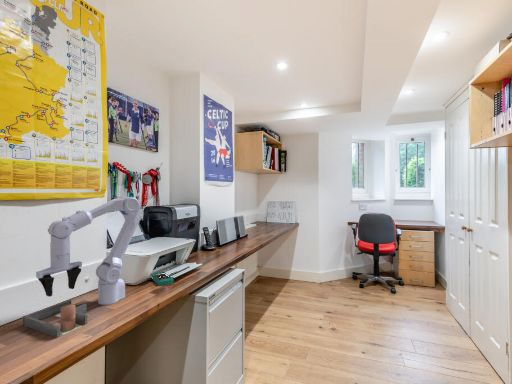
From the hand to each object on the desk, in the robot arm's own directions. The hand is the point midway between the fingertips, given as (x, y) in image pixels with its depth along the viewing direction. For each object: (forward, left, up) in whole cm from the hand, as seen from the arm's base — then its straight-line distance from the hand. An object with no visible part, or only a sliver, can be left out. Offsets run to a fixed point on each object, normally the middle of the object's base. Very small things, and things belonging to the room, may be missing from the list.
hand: (60, 292), depth 99 cm
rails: (+2, +5, -8) cm, 10 cm away
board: (+2, +7, -9) cm, 12 cm away
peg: (+5, +12, -8) cm, 15 cm away
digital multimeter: (-46, +4, -10) cm, 47 cm away
